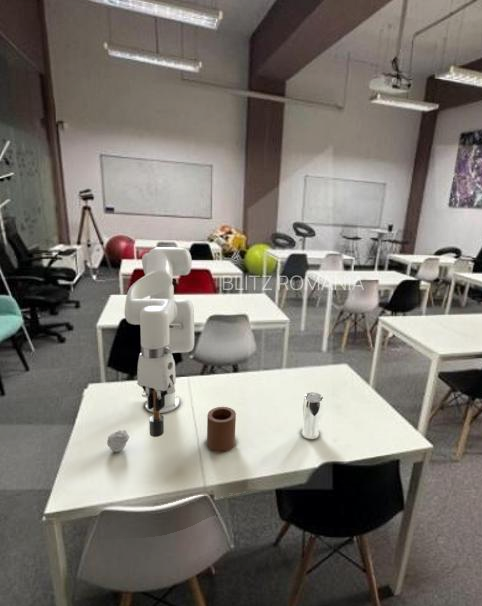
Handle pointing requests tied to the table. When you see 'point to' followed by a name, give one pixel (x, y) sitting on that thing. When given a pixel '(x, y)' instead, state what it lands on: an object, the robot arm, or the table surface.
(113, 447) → the grey crumpled ball
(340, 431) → the table surface
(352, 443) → the table surface
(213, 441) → the cylindrical holder
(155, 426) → the brush
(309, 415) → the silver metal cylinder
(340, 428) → the table surface
